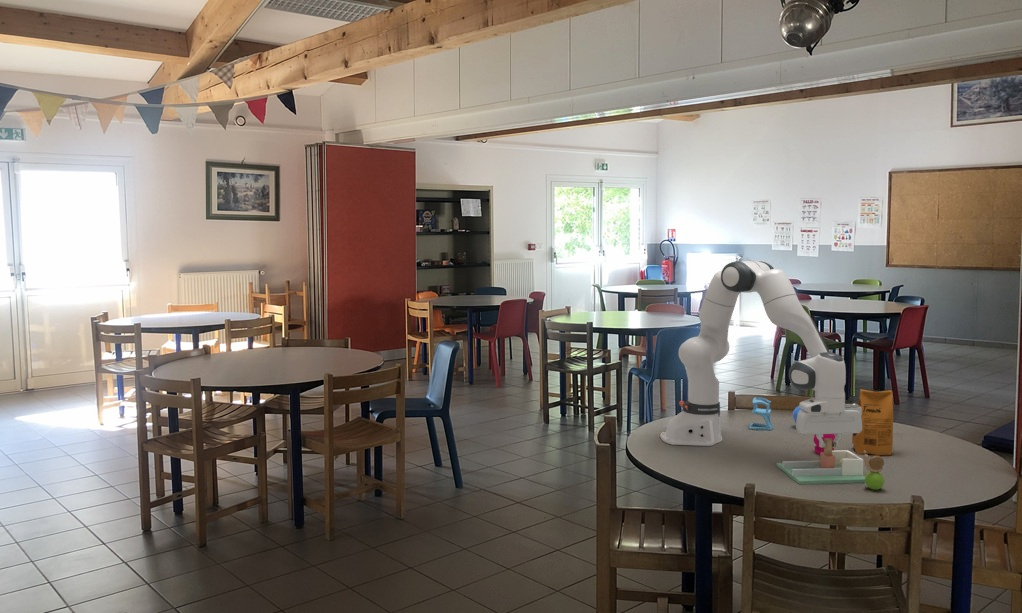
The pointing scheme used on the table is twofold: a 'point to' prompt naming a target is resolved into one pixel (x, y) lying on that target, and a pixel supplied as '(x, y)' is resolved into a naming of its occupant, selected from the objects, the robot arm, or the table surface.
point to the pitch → (826, 470)
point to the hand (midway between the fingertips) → (828, 446)
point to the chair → (762, 414)
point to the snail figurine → (874, 472)
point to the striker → (827, 455)
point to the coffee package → (875, 423)
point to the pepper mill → (816, 441)
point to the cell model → (796, 413)
